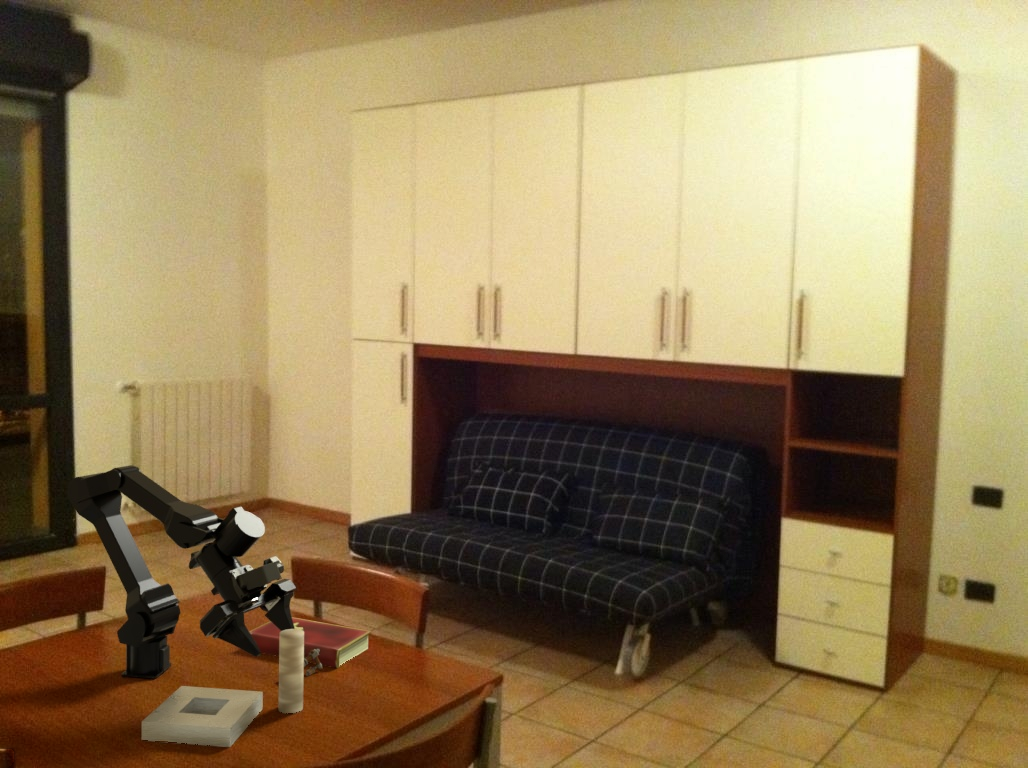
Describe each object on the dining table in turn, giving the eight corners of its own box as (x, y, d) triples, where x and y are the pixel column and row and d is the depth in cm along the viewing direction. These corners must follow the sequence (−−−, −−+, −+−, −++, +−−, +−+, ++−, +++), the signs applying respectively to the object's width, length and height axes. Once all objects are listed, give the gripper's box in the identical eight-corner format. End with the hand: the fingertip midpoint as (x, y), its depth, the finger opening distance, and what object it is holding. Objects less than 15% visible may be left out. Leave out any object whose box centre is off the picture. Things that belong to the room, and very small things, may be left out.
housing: (141, 740, 146) (141, 721, 146) (181, 703, 160) (181, 685, 160) (229, 747, 145) (230, 728, 145) (262, 709, 159) (262, 691, 159)
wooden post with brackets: (328, 666, 177) (320, 647, 175) (294, 694, 171) (286, 674, 170) (322, 663, 178) (314, 644, 176) (289, 691, 173) (280, 671, 171)
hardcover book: (337, 671, 178) (338, 649, 177) (245, 652, 185) (245, 631, 185) (370, 650, 189) (371, 629, 189) (281, 634, 197) (281, 614, 196)
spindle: (275, 712, 158) (276, 636, 157) (283, 702, 162) (284, 628, 161) (298, 714, 158) (299, 637, 156) (306, 704, 161) (307, 629, 160)
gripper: (213, 556, 153) (267, 635, 149) (288, 533, 170) (338, 603, 166) (176, 597, 157) (228, 675, 153) (253, 570, 173) (301, 640, 170)
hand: (277, 646), depth 160 cm, fingers open, 9 cm apart
